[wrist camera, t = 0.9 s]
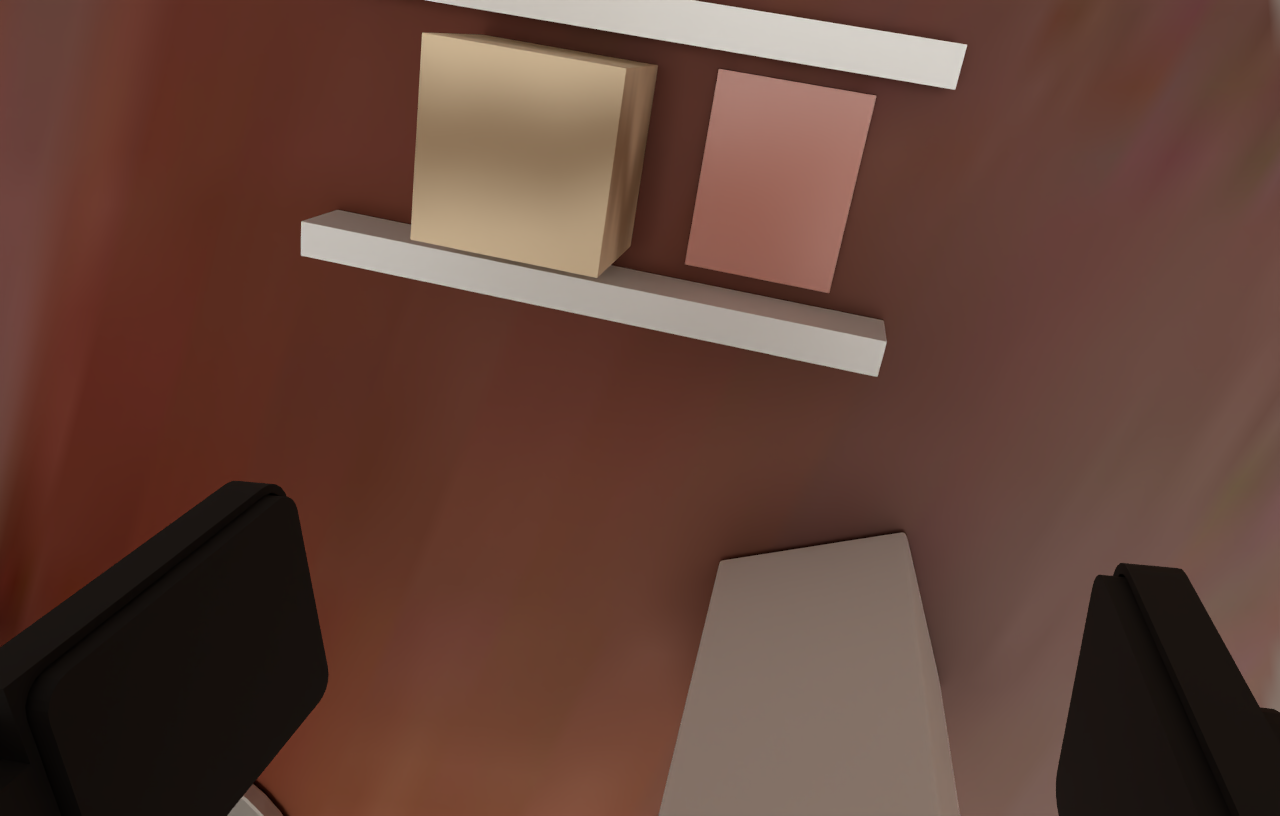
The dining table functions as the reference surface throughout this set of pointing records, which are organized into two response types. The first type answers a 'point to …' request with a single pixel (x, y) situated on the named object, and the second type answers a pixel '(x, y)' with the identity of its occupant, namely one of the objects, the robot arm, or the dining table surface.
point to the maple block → (529, 150)
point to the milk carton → (814, 691)
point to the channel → (709, 187)
